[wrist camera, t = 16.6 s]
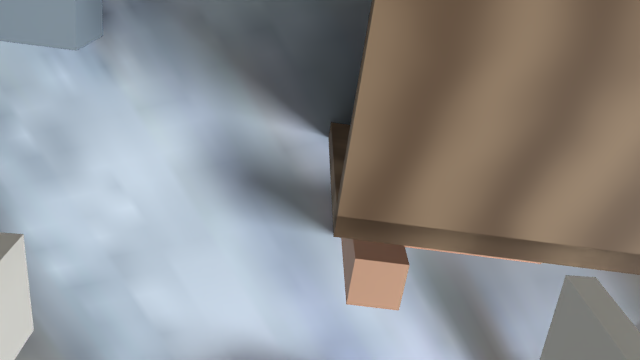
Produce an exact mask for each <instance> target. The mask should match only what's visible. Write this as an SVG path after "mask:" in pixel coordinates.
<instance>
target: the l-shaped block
mask: <svg viewBox="0 0 640 360" xmlns="http://www.w3.org/2000/svg"><path fill="white" fill-rule="evenodd" d="M341 240H342V253H343V266H344V279H345V292H346V304H349V305H358V306H366V307H375V308H383V309H392V310H399V307H400V303H401V299H402V294H403V290H404V286H405V282H406V277H407V273H408V269H409V262H408V258H407V254H406V250H405V247H410V248H418V249H426V250H434V251H442V252H450V253H458V254H466V255H474V256H482V257H490V258H498V259H506V260H514V261H522V262H530V263H538V264H541V262H533V261H525V260H517V259H509V258H501V257H492V256H484V255H476V254H468V253H460V252H452V251H444V250H436V249H428V248H420V247H412V246H404V245H396V244H388V243H380V242H372V241H364V240H356V239H348V238H341Z"/></svg>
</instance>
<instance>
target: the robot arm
mask: <svg viewBox="0 0 640 360" xmlns="http://www.w3.org/2000/svg"><path fill="white" fill-rule="evenodd" d="M33 330H34V328H33V319H32V310H31V300H30V291H29V282H28V272H27V263H26V254H25V244H24V235H23V234H13V233H0V360H14V359H15V358H16V356H17V355H18V353H19V352H20V350H21V349H22V347H23V346H24V344H25V342H26V341H27V339H28V338H29V336H30V335H31V333H32V332H33ZM540 360H640V332H639V331H638V330H637V328H636V327H635V326H634V325H633V323H632V322H631V321H630V320H629V318H628V317H627V316H626V315H625V313H624V312H623V311H622V310H621V308H620V307H619V306H618V305H617V303H616V302H615V301H614V300H613V298H612V297H611V296H610V295H609V293H608V292H607V291H606V290H605V288H604V287H603V286H602V285H601V283H600V282H599V281H598V280H597V279H596V277H583V276H570V275H566V276H565V279H564V283H563V286H562V289H561V292H560V296H559V299H558V302H557V305H556V309H555V312H554V315H553V318H552V322H551V325H550V328H549V331H548V335H547V338H546V341H545V344H544V348H543V351H542V354H541V358H540Z"/></svg>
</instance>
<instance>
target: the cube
mask: <svg viewBox="0 0 640 360" xmlns="http://www.w3.org/2000/svg"><path fill="white" fill-rule="evenodd" d="M102 36H103V9H102V0H0V41H6V42H14V43H21V44H29V45H37V46H45V47H53V48H61V49H69V50H79V49H80V48H82V47H84V46H86V45H87V44H89V43H91V42H93V41H94V40H96V39H98V38H100V37H102Z"/></svg>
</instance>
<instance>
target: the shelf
mask: <svg viewBox="0 0 640 360" xmlns="http://www.w3.org/2000/svg"><path fill="white" fill-rule="evenodd" d="M329 156H330V175H331V195H332V214H333V233H334V237H340V238H348V239H356V240H364V241H372V242H380V243H388V244H396V245H404V246H412V247H420V248H428V249H436V250H444V251H452V252H460V253H468V254H476V255H484V256H492V257H501V258H509V259H517V260H525V261H533V262H541V263H549V264H557V265H565V266H573V267H581V268H589V269H597V270H605V271H613V272H621V273H629V274H637V275H640V0H372V3H371V9H370V15H369V20H368V26H367V32H366V38H365V44H364V49H363V55H362V61H361V67H360V73H359V78H358V84H357V90H356V96H355V102H354V107H353V113H352V119H351V125H347V124H339V123H332V122H331V125H330V132H329Z"/></svg>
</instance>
